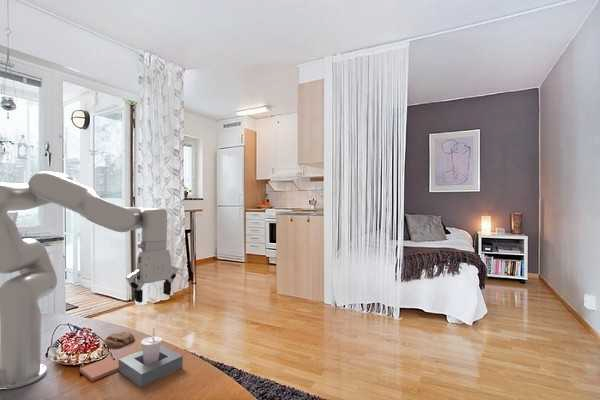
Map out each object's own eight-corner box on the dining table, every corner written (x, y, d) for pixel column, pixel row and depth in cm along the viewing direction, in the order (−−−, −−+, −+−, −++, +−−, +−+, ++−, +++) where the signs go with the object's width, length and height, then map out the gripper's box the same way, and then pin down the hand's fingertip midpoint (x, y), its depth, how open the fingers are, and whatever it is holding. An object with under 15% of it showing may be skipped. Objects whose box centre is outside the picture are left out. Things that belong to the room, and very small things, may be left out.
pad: (91, 381, 98) (92, 378, 98) (79, 371, 103) (79, 368, 103) (122, 368, 105) (122, 365, 105) (109, 360, 110) (109, 357, 110)
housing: (141, 387, 96) (141, 374, 95) (118, 371, 104) (118, 359, 104) (182, 367, 107) (182, 355, 107) (158, 354, 115) (159, 343, 115)
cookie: (139, 341, 126) (139, 333, 126) (110, 351, 117) (111, 343, 117) (126, 334, 131) (126, 327, 131) (98, 344, 122) (98, 336, 122)
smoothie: (155, 375, 102) (157, 331, 102) (136, 374, 102) (137, 330, 102) (164, 364, 108) (165, 323, 108) (146, 364, 109) (147, 323, 108)
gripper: (133, 250, 96) (132, 307, 96) (184, 244, 110) (183, 293, 110) (121, 247, 100) (120, 302, 100) (171, 241, 114) (170, 289, 114)
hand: (153, 297), depth 105 cm, fingers open, 9 cm apart
